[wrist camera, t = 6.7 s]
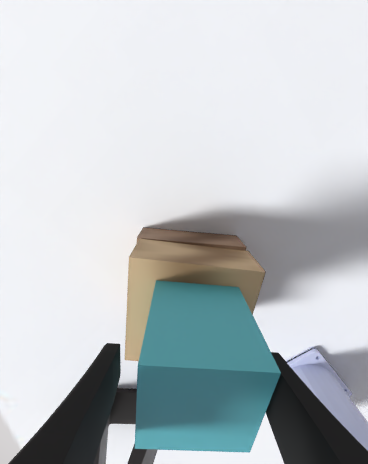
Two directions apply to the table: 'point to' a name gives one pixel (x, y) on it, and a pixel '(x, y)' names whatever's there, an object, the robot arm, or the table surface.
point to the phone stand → (124, 414)
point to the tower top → (182, 278)
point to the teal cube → (202, 371)
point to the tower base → (192, 238)
